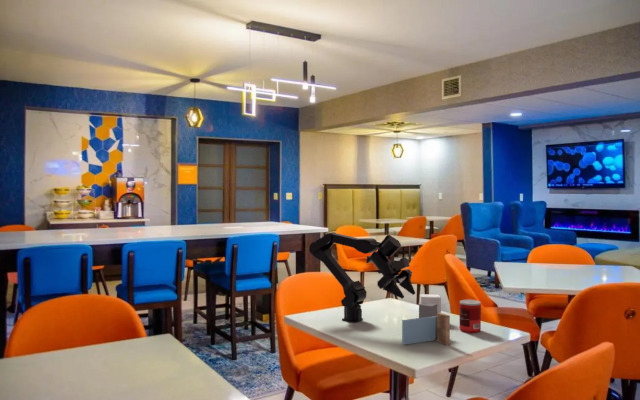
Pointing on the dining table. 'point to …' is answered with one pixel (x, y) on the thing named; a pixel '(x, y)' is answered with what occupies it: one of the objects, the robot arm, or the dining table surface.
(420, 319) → the gate
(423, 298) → the small box
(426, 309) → the block
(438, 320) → the brown wooden block
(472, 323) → the canned food
